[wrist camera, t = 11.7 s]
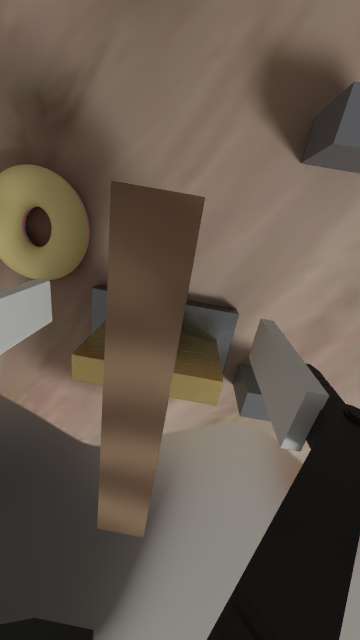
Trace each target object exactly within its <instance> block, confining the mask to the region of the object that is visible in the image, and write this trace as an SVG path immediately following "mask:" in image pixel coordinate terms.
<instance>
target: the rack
mask: <svg viewBox="0 0 360 640" xmlns="http://www.w3.org/2000/svg"><path fill="white" fill-rule="evenodd" d="M301 163H303V164H309V165H314V166H320V167H326V168H332V169H338V170H344V171H350V172H356V173H360V82H354V83H353V84H351V85H350V86H349V87H348V88H347V89H346V90H345V91H344V92H343V93H342V94H341V95H340V96H339V97H337V98H336V99H335V100H334V101H333V102H332V103H331V104H330V105H329V106H328V107H327V108H326V109H325V110H323V111H322V112H321V113H320V114H319V115H318V116H317V117H316V118H315V120H314V123H313V126H312V130H311V133H310V136H309V139H308V143H307V146H306V149H305V152H304V156H303V159H302V162H301ZM233 386H234V391H235V396H236V400H237V405H238V410H239V414H240V416H243V417H249V418H254V419H260V420H265V421H271V419H270V417H269V414H268V411H267V408H266V405H265V402H264V400H263V397H262V394H261V391H260V388H259V386H258V383H257V380H256V377H255V374H254V371H253V369H252V366H248V365H242V364H239V367H238V370H237V374H236V377H235V380H234V384H233Z"/></svg>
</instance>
